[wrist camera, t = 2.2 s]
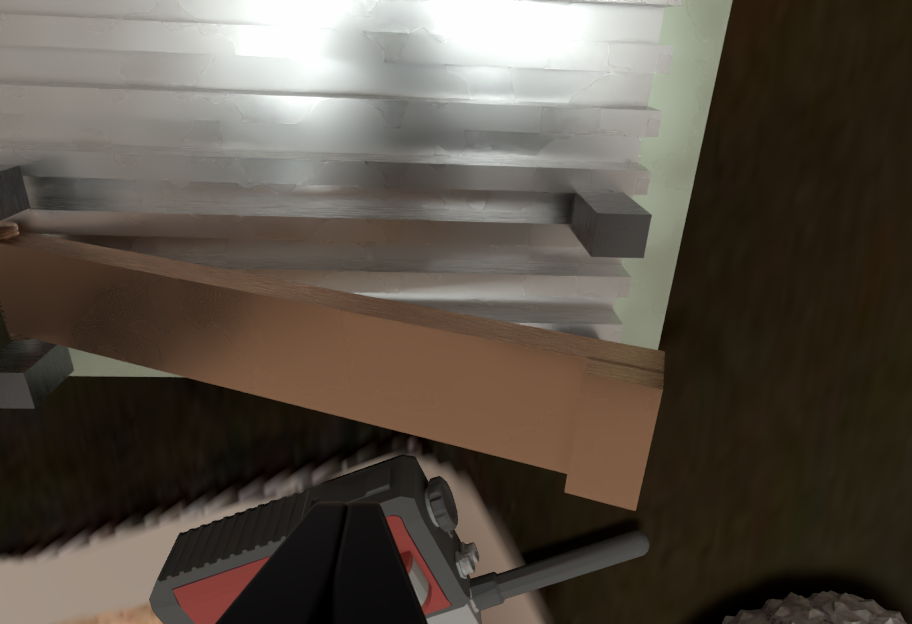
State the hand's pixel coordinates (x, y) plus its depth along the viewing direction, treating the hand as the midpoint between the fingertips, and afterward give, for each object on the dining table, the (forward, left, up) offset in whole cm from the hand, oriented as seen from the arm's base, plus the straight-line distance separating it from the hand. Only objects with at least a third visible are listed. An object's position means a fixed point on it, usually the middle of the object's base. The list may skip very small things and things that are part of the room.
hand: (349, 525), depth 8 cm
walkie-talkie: (0, -14, -14) cm, 20 cm away
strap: (-2, 0, -6) cm, 6 cm away
